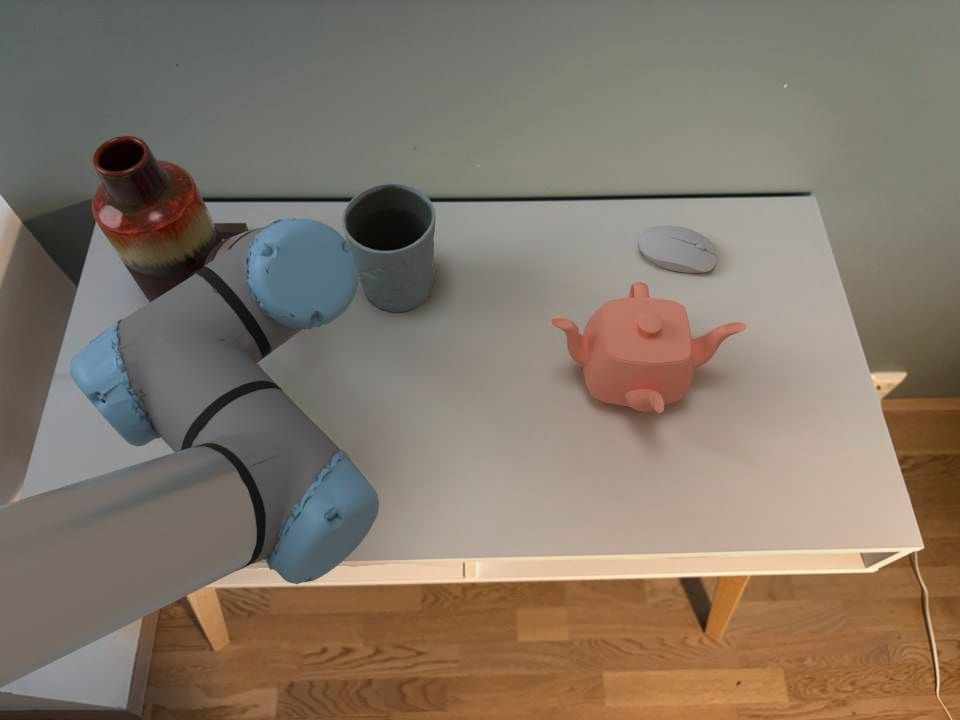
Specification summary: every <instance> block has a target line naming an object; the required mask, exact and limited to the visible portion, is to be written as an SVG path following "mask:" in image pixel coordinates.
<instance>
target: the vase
mask: <svg viewBox="0 0 960 720" xmlns="http://www.w3.org/2000/svg"><path fill="white" fill-rule="evenodd" d="M92 164H93V168H94V170H95V171H96V173H97V175H98V177H99V179H100V181H101V182H100V183H99V185H98V186H97V188H96V189H95V191H94V194H93V196H92V200H91V212H92V215H93V218H94V220H95V222H96V223H97V225H98V227H99V228H100V230H101V231H102V233H103V234H104V237H106V239H107V241H108V242H109V244H110V245H111V247H112V249H113V250H114V251H115V253H116V254H117V256H118V258H120V261H121V262H122V264H123V265H124V267H125V268H126V269H127V271H128V273H129V274H130V275H131V277H132V278H133V280H134V281H135V283H136V285H137V286H138V288H139V289H140V290H141V292H142V294H143V295H144V296H145V297H146V299H147V300H148V303H150V302H152V301H153V300H155V299H157V298H158V297H160V296H161V295H163V294H165V293H166V292H168V291H169V290H171V289H173V288H174V287H176V286H177V285H179V284H180V283H182V282H184V281H185V280H187V279H188V278H190V275H191V274H192V273H193V272H195V271H196V270H198V269H201V268H202V267H204V264H205V261H206V259H207V257H208V255H209V253H210V252H211V251H212V249H213V248H214V247H215V246H216V245H217V244H219V243H220V242H222V241H223V240H222V239H221V238H220V236H219V233H218V231H217V229H216V227H215V225H214V223H215V222H214V220H213V218H212V216H211V213H210V212H209V209H208V207H207V206H206V203H205V201H204V198H203V196H202V194H201V192H200V190H199V188H198V186H197V183H196V181H195V179H194V177H192V175H191V174H190V172H189V171H187V170H186V169H185V168H183V167H182V166H180V165H179V164H176V163H174V162H171V161H167V160H163V159H157V158H156V156H155V154H154V153H153V151H152V149H151V148H150V146H149V145H148V144H147V142H146V141H144V140H143V139H142V138H140V137H137V136H133V135H120V136H116V137H112V138H110V139H108V140H106V141H104V142H103V143H102V144H100V145H99V146H98V147H97V148H96V149H95V151H94V153H93V156H92Z"/></svg>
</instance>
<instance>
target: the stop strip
mask: <svg viewBox="0 0 960 720" xmlns="http://www.w3.org/2000/svg"><path fill="white" fill-rule="evenodd" d="M214 225H215V227H216V229H217V231H218V233H219V236H220V238H221V240H222V239H223V240H225V239H227V238H230V237H233V236H236V235H238V234H241V233H243V232H246V231H249V228H248V227H249V226H248V225H247V223H246V222H214Z"/></svg>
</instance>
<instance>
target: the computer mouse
mask: <svg viewBox="0 0 960 720" xmlns="http://www.w3.org/2000/svg"><path fill="white" fill-rule="evenodd" d="M638 247H639V249H640V251H641V253H642V254H643V256H644V257H645V258H646V259H647V260H649V261H650V262H651V263H653V264H655V265H656V266H658V267H660V268H662V269H665V270H669V271H673V272H677V273H687V274H697V273H708V272H710V271H712V270H713V269H714V267H715V266H716V264H717V259H718V251H717V246H716V245H715V244H714V243H713V242H712V241H711V240H710V239H709V238H707V237H706V236H704V235H703V234H701V233H700V232H697V231H695V230H693V229H691V228H688V227H683V226H679V225H659V226H654V227H653V226H652V227H649V228H646V229H644V230H642V231H641V232H640V233H639V236H638Z"/></svg>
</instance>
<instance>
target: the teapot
mask: <svg viewBox="0 0 960 720" xmlns="http://www.w3.org/2000/svg"><path fill="white" fill-rule="evenodd" d="M689 322H690V321H689V317H688V313H687V311H686V308H685V306H684V305H683V304H681V303H680V302H677V301H674V300H670V299H664V298H656V297H655V298H654V297H650V290H649V286H648V284H647V283H645V282H641V281H637V282H633V283H631V286H630V288H629V293H628V297H622V298H615V299H612V300H608V301H607V302H605V303H603V304H602V305H601V306H600V307H599V308H597V310H596V311H595V312H594V313H593V314H592V315H591V317H590V318H589V320H588V321H587V323H586V326H585V328H584V330H583V334H581V333H580V330H579V327H578V325H577V324H576V322H574V321H572V320H571V319H568V318H564V317H554V318H552V319H551V320H550V323H551V324H552V326H555V327H556V328H558V329H559V330H561V331H563V332H564V333H565V335H566V347H567V350H568V355H569V356H570V357H571V359H572V360H573V361H574V362H575V363H577V364H578V365H579V366H581V367H582V370H583V378H584V382H585V387H586V389H587V392H588V393H589V394H590V396H591V397H592V398H593V399H595V400H597V401H599V402H603V403H605V404H611V405H615V406H616V405H617V406H622V407H631V408H632V409H633V410H635V411H639V412H651V411H655V412H656V413H657V414H658V413H659V414H661V413H663V412H664V410H665V405H669V404H673V403H675V402H678V401H681V400H682V399H683V398H685V397H686V395H687V394H688V393H689V391H690V389H691V385H692V382H693V378H694V370H695V369H698V368H699V367H702V366H703V365H705V364H707V363H708V362H709V361H710V360H711V359H712V358H713V357H714V355H715V354H716V353H717V351H718V349H719V348H720V346H721V345H722V343H723V342H724V341H726V339H727V338H729V337H731V336H734V335H735V334H739V333H740V332H743V331H745V330H746V329H747V327H748V326H747V324H746V323H745V322H740V321H735V322H727V323H724V324H722V325H719V326H717V327H715V328H714V329H712V330H711V331H709V332H707V333H706V334H704V335H700V336H698V337H693V338H692V334H691V333H692V332H691V327H690V323H689Z"/></svg>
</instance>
